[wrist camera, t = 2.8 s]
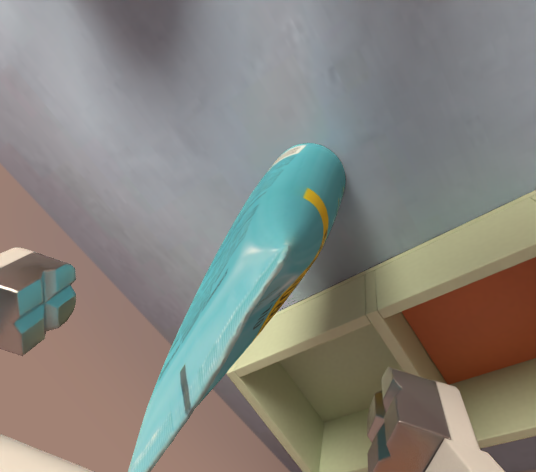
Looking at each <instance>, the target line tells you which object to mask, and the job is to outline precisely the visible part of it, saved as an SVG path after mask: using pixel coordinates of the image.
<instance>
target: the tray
mask: <svg viewBox="0 0 536 472" xmlns="http://www.w3.org/2000/svg"><path fill="white" fill-rule="evenodd" d="M388 367H391V368H394V369H397V370H401V371H404V372H407V373H410V374H413V375H416V376H420V377H423V378H426V379H429V380H435V381H438V382H442V383H445V384H449V385H452V386H455V387H457V389H458V390H459V391H460V394H461V397H462V399H463V402H464V405H465V408H466V411H467V414H468V417H469V419H470V422H471V425H472V428H473V431H474V434H475V436H476V439H477V442H478V445H479V448H480V449H481V448H485V447H490V446H494V445H498V444H503V443H507V442H511V441H516V440H520V439H524V438H529V437H533V436H536V190H535V191H533V192H531V193H528V194H526V195H524V196H522V197H520V198H518V199H516V200H514V201H512V202H509V203H507V204H505V205H503V206H501V207H499V208H497V209H495V210H493V211H490V212H488V213H486V214H484V215H482V216H480V217H478V218H476V219H473V220H471V221H469V222H467V223H465V224H463V225H461V226H459V227H457V228H454V229H452V230H450V231H448V232H446V233H444V234H442V235H440V236H438V237H435V238H433V239H431V240H429V241H427V242H425V243H423V244H421V245H419V246H416V247H414V248H412V249H410V250H408V251H406V252H404V253H402V254H399V255H397V256H395V257H393V258H391V259H389V260H387V261H385V262H383V263H380V264H378V265H376V266H374V267H372V268H370V269H368V270H366V271H364V272H361V273H359V274H357V275H355V276H353V277H351V278H349V279H347V280H345V281H342V282H340V283H338V284H336V285H334V286H332V287H330V288H328V289H325V290H323V291H321V292H319V293H317V294H315V295H313V296H311V297H309V298H306V299H304V300H302V301H300V302H298V303H296V304H294V305H292V306H290V307H287V308H285V309H283V310H281V311H279V312H277V313H275V315H274V316H273V317H272V318H271V320H270V321H269V322H268V323H267V325H266V326H265V327H264V328H263V330H262V331H261V332H260V334H259V335H258V336H257V337H256V338H255V340H254V341H253V342H252V343H251V344H250V345H249V347H248V348H247V349H246V350H245V351H244V353H243V354H242V355H241V356H240V357H239V358H238V360H237V361H236V362H235V363H234V364H233V365H232V367H231V368H230V369H229V370H228V371H227V373H226V374H227V375H228V377H229V378H230V379H231V380H232V382H233V383H234V384H235V385H236V387H237V388H238V389H239V391H240V392H241V393H242V394H243V396H244V397H245V398H246V400H247V401H248V402H249V403H250V405H251V406H252V407H253V409H254V410H255V411H256V412H257V414H258V415H259V416H260V417H261V419H262V420H263V421H264V423H265V424H266V425H267V426H268V428H269V429H270V430H271V432H272V433H273V434H274V435H275V437H276V438H277V439H278V441H279V442H280V443H281V444H282V446H283V447H284V448H285V450H286V451H287V452H288V453H289V455H290V456H291V457H292V458H293V460H294V461H295V462H296V464H297V465H298V466H299V467H300V469H301V470H302V471H303V472H368V455H367V453H368V451H369V448H370V446H371V444H372V442H371V441H370V439H369V438H368V436H367V418H368V413H369V408H370V404H371V402H372V399H373V397H374V394H375V393H377V392H379V391H381V390H382V385H381V379H382V376H383V374H384V372H385V370H386V369H387V368H388Z"/></svg>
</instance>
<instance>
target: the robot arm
mask: <svg viewBox="0 0 536 472" xmlns="http://www.w3.org/2000/svg"><path fill="white" fill-rule="evenodd" d="M75 280H76V277H75V268H74V267H73V266H72V265H71V264H68V263H65V262H62V261H59V260H56V259H54V258H51V257H47V256H45V255H42V254H39V253H35V252H33V251H30V250H27V249H23V248H12V249H10V250H8V251H5V252H3V253H1V254H0V349H2V350H5V351H8V352H12V353H15V354H18V355H21V356H23V355H24V354H26V353H27V352H28V351H30V350H31V349H32V348H33V347H35V346H36V345H37V344H38V343H40V342H41V341H42V340H44V338H45V334H46V331H49V330H53V329H56V328H59V327H60V326H61V325H62V324H64V323H65V322H66V321H67V320H68V318H69V317H70V315H71V314H72V312H73V310H74V307H75V303H76V294H75V292H74V290H73V289H72V287H71V284H72V283H73V282H74V281H75ZM381 385H382V390H381V391H379V392H377V393H375V394H374V397H373V399H372V402H371V404H370V408H369V413H368V418H367V436H368V438H369V439H370V441H371V442H372V444H371V446H370V448H369V451H368V453H367V455H368V472H505V471H504V470H503V469H502V468H501V467H500V466H499V464H498V463H497V462H496V461H495V460H494V459H493V458H492V457H491V456H490V455H489V454H488V453H487V452H484V451H481V450H480V448H479V445H478V442H477V439H476V436H475V434H474V431H473V428H472V425H471V422H470V419H469V417H468V414H467V411H466V408H465V405H464V402H463V399H462V397H461V394H460V391H459V390H458V389H457V387H455V386H452V385H449V384H445V383H442V382H438V381H435V380H429V379H426V378H423V377H420V376H416V375H413V374H410V373H407V372H404V371H401V370H397V369H394V368H391V367H388V368H387V369H386V370H385V372H384V374H383V376H382V379H381ZM0 472H94V471H92V470H89V469H87V468H84V467H82V466H79V465H77V464H74V463H72V462H69V461H67V460H64V459H62V458H59V457H57V456H54V455H52V454H49V453H47V452H44V451H42V450H39V449H37V448H34V447H32V446H29V445H27V444H24V443H22V442H19V441H16V440H14V439H12V438H9V437H7V436H4V435H2V434H0Z"/></svg>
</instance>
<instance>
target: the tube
mask: <svg viewBox="0 0 536 472" xmlns="http://www.w3.org/2000/svg"><path fill="white" fill-rule="evenodd" d="M345 182H346V178H345V172H344V168H343V165H342V163H341V161H340V160H339V159H338V157H337V156H336V155H335V154H334V153H333V152H332V151H331V150H329V149H328V148H326V147H324V146H321V145H318V144H312V143H304V144H299V145H296V146H293V147H291V148H290V149H288V150H286V151H285V152H284V153H283V154H282V155H281V156H280V157H279V158H278V159H277V160H276V162H275V163H274V164H273V165H272V166H271V168H270V169H269V170H268V171H267V173H266V174H265V175H264V177H263V178H262V179H261V181H260V182H259V184H258V185H257V186H256V188H255V189H254V191H253V192H252V194H251V195H250V197H249V198H248V200H247V201H246V203H245V205H244V206H243V208H242V210H241V211H240V213H239V214H238V216H237V218H236V220H235V222H234V223H233V225H232V227H231V229H230V230H229V232H228V234H227V236H226V238H225V239H224V241H223V243H222V245H221V247H220V248H219V250H218V252H217V254H216V256H215V258H214V260H213V262H212V264H211V266H210V267H209V269H208V271H207V273H206V275H205V277H204V279H203V281H202V283H201V285H200V287H199V290H198V292H197V294H196V296H195V298H194V300H193V302H192V304H191V306H190V308H189V310H188V312H187V314H186V316H185V318H184V320H183V323H182V325H181V327H180V329H179V331H178V334H177V336H176V338H175V340H174V342H173V344H172V347H171V349H170V351H169V354H168V356H167V359H166V361H165V363H164V366H163V368H162V370H161V373H160V376H159V378H158V381H157V383H156V386H155V388H154V391H153V394H152V396H151V399H150V401H149V404H148V407H147V410H146V413H145V416H144V419H143V423H142V426H141V429H140V432H139V436H138V439H137V443H136V446H135V450H134V454H133V457H132V460H131V463H130V466H129V470H128V472H150V471H151V470H152V468H153V467H154V466H155V464H156V463H157V462H158V460H159V459H160V457H161V456H162V455H163V453H164V452H165V450H166V449H167V448H168V447H169V445H170V444H171V443H172V442H173V440H174V438H175V437H176V435H177V434H178V432H179V431H180V430H181V428H182V427H183V426H184V424H185V423H186V422H187V420H188V419H189V417H190V415H191V414H192V412H193V411H194V409H195V408H196V407H197V406H198V405H199V404H200V402H201V401H202V400H203V399H204V398H205V397H206V396H207V395H208V393H209V392H210V391H211V390H212V389H213V388H214V386H215V385H216V384H217V383H218V382H219V381H220V379H221V378H222V377H223V376H224V375H225V374H226V372H227V371H228V370H229V369H230V368H231V367H232V365H233V364H234V363H235V362H236V361H237V360H238V358H239V357H240V356H241V355H242V354H243V353H244V351H245V350H246V349H247V348H248V347H249V345H250V344H251V343H252V342H253V341H254V340H255V338H256V337H257V336H258V335H259V334H260V332H261V331H262V330H263V328H264V327H265V326H266V325H267V323H268V322H269V321H270V320H271V318H272V317H273V316H274V315H275V313H276V312H277V311H278V310H279V308H280V307H281V306H282V305H283V303H284V302H285V301H286V299H287V298H288V297H289V295H290V294H291V293H292V291H293V290H294V289H295V287H296V286H297V285H298V283H299V282H300V281H301V279H302V278H303V277H304V275H305V274H306V273H307V271H308V270H309V268H310V267H311V266H312V264H313V263H314V261H315V260H316V258H317V257H318V255H319V253H320V251H321V250H322V248H323V246H324V244H325V242H326V240H327V238H328V235H329V233H330V231H331V228H332V226H333V224H334V221H335V218H336V215H337V212H338V210H339V207H340V203H341V200H342V197H343V193H344V190H345Z"/></svg>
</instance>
